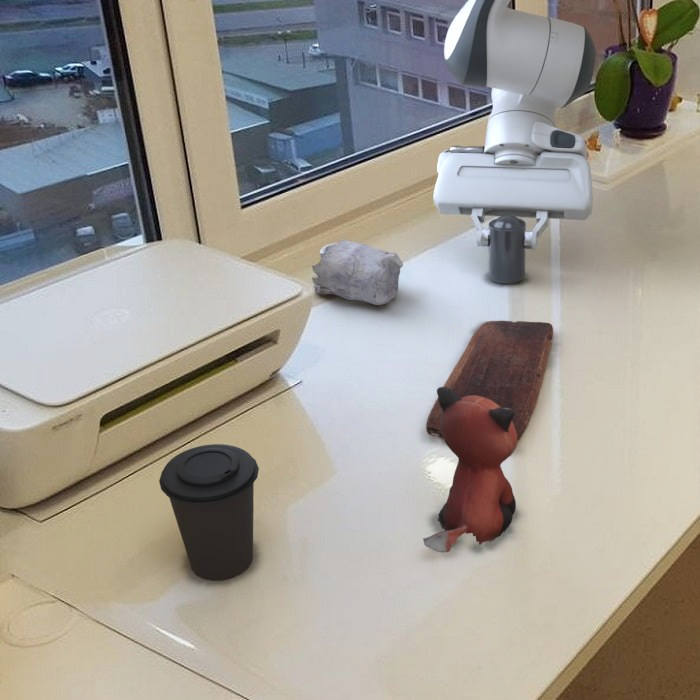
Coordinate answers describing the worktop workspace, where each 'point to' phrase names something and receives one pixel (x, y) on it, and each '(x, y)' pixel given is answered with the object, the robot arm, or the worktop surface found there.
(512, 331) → the wooden tablet
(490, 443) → the stuffed fox
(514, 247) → the dome-topped grey canister
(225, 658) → the worktop surface
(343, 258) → the stone
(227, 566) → the coffee cup
